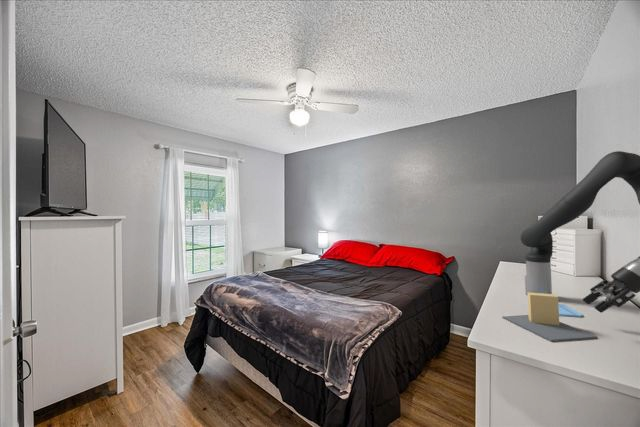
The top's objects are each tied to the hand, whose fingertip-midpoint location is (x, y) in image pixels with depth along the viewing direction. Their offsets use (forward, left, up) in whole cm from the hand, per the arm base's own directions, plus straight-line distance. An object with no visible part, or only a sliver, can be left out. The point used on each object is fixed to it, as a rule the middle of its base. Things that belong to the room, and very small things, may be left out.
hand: (590, 306), depth 92 cm
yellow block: (-7, -12, -7) cm, 15 cm away
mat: (-4, -14, -8) cm, 16 cm away
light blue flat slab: (-18, +5, -9) cm, 21 cm away
